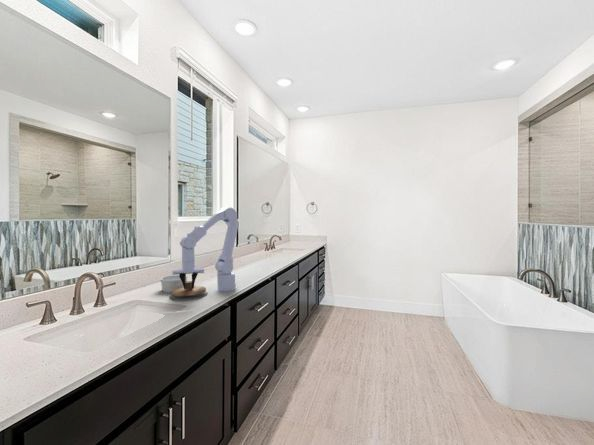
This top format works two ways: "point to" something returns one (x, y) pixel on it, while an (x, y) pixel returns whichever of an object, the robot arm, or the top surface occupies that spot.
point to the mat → (188, 297)
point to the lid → (188, 290)
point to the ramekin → (171, 283)
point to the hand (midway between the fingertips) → (188, 288)
